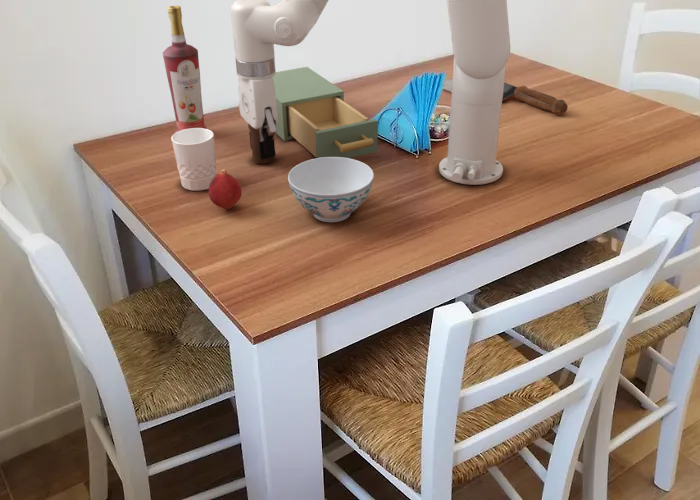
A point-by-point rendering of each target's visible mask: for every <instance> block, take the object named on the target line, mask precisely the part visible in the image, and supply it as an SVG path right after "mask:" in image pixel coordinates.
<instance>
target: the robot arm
mask: <svg viewBox="0 0 700 500" xmlns="http://www.w3.org/2000/svg"><path fill="white" fill-rule="evenodd" d="M328 2H329V0H281V1H280V2H279V3H277V4H275V5H271V4H270V2H269V1H267V0H235V1H234V2H233V3H232V4H231V6H230V19H231V28H232V38H233V49H234V58H235V68H236V76H237V77H238V78H237V79H238V80H237V84H238V85H237V87H238V106H239V114H240V116H241V118H242V119H243V120H245V122H247V124H248V130H249V132H248V134H249V144H250V149H251V150H252V145H251V134H250V125H251V126H252V127H253V128H255V129H258V130H259V137H260V140H259V141H258V143H259V154H260V158H261V159H267V158H271V157H274V158H275V157H276V148H275V147H276V146H275V139H276V138H275V135H276V128H275V125H276V124H277V121H278V116H277V103H276V94H275V87H274V81H273V76H274V75H275V74H276V72H277V71H276V70H277V69H276V58H275V45H277V46H283V47H293V46H297V45H299V44H301V43H302V42H303V41H304V40H305V39H306V37H307V36H308V35H309V34H310V32H311V31H312V29H313V28H314V26H315V25H316V24H317V22H318V20H319V19H320V17H321V15H322V13H323V11H324V9H325V8H326V6H327V4H328ZM446 5H447V14H448V22H449V31H450V35H451V46H452V54H453V67H452V68H453V69H452V78H453V82H452V92H451V97H450V109H449V110H450V112H449V125H448V127H449V128H448V142H447V143H448V144H447V156H446V157H444V158H443V159H441V161H439V164H438V172H439V173H440V175H441V176H442V177H444V178H445V179H447V180H448V181H451V182H453V183H457V184H462V185H469V186H472V185H473V186H478V185H486V184H491V183H493V182H497V181H498V180H499V179H500V178H501V177H502V176H503V174H504V166H503V164H502V163H501V162H500V161H498V160H497V152H498V144H499V134H500V124H501V115H502V105H503V100H502V98H503V90H504V82H505V78H506V68H507V67H506V66H507V63H508V61H509V58H510V55H511V36H510V24H509V13H508V2H507V0H446ZM264 122H266V125H263V123H264ZM266 128H267V131H265V132H264V134H263V129H266Z"/></svg>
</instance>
